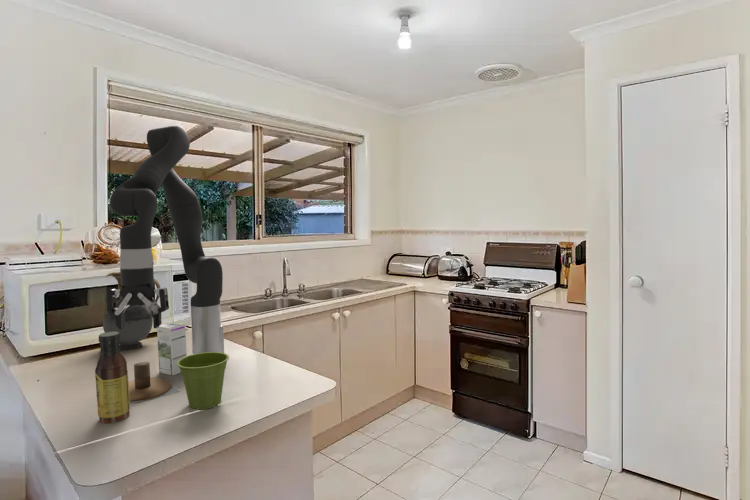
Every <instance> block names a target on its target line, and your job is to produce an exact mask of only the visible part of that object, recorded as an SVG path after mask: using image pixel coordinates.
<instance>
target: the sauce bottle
mask: <svg viewBox="0 0 750 500" xmlns="http://www.w3.org/2000/svg"><path fill="white" fill-rule="evenodd" d="M119 339H120V333H119V332H116V331H113V332H106V333H105V332H103V333H99V334H98V342H99V348H100V350H99V357H98V360H97V363H96V367H95V370H94V372H95V374H94V375H95V376H94V377H95V387H96V402H97V403H96V404H97V415H98V418H99V419H98V420H99V422H100V423H103V424H113V423H117V422H121V421H124V420H126V419H127V418H128V417H130V413H131V411H130V409H131V404H130V397H129V383H128V382H129V372H128V363H127V359H126V358H125V357H124V355H123V354H122V353H121V350H120V346H119V345H120V344H119Z"/></svg>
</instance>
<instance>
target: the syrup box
mask: <svg viewBox="0 0 750 500" xmlns="http://www.w3.org/2000/svg"><path fill="white" fill-rule="evenodd" d="M156 331H157V332H156V334H157V335H156V336H157V351H158V369H159V370H158V371H159V373H160V374H162V375H163V374H165V375H169V376H174V375H177V374H181V371H180V368H179V367H178V366H177V361H178V360H180V359H181V358H183V357H186V356H188V354H187V351H188V350H187V333H186V324H185V323H178V322H167V323H163V324H161V325H160V326H159V327H158V328H156Z"/></svg>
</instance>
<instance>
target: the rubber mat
mask: <svg viewBox="0 0 750 500" xmlns="http://www.w3.org/2000/svg"><path fill="white" fill-rule="evenodd" d="M176 393H180V389H178V388H176V387H175V386H174V385H173V384H172V383H171V389H170V390H169V391H168V392H166V393H164V394H162V395H160V396H157V397H154V398H151V399H146V400H141V401H131V402H130V405H134V404H137V403H141V402H145V401H148V400H152V399H157V398H160V397H163V396H169V395H173V394H176Z"/></svg>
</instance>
